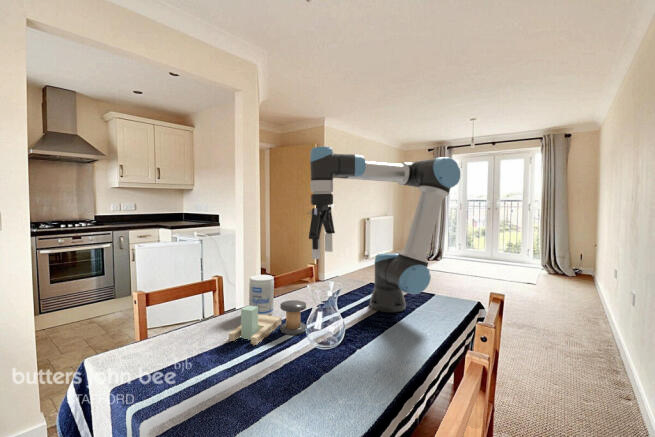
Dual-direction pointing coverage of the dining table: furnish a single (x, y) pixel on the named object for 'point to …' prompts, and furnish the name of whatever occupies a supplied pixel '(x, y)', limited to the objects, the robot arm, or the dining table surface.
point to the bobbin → (293, 317)
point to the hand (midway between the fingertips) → (322, 255)
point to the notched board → (259, 328)
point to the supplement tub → (262, 293)
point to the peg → (249, 321)
